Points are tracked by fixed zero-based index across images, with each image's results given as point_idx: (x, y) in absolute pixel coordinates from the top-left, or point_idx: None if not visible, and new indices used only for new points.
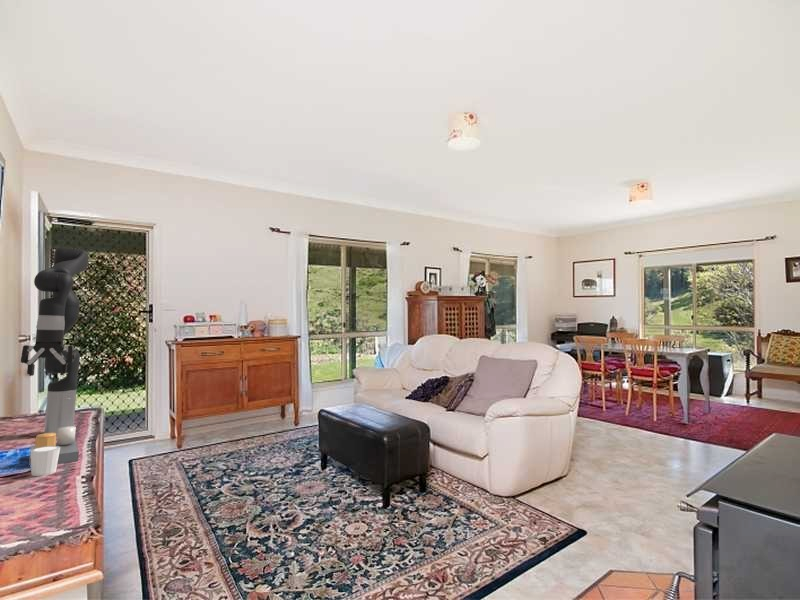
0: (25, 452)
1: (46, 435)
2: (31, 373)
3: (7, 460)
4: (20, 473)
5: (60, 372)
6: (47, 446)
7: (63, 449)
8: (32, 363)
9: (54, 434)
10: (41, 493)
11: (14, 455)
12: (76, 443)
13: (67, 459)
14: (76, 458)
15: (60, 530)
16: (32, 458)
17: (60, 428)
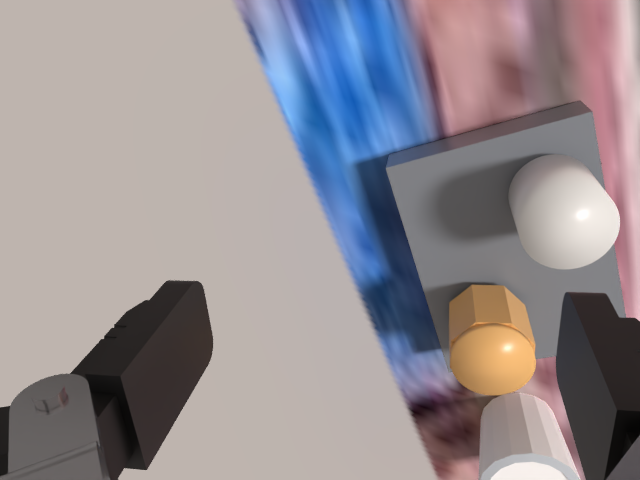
0: (345, 83)
1: (498, 382)
2: (200, 374)
3: (326, 210)
4: (441, 398)
5: (566, 399)
6: (527, 462)
7: (555, 286)
8: (118, 468)
9: (532, 373)
10: None
11: (318, 129)
12: (602, 181)
13: None
14: None
15: None
16: None
17: (532, 231)
